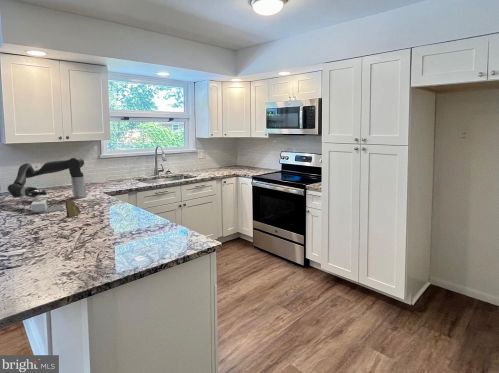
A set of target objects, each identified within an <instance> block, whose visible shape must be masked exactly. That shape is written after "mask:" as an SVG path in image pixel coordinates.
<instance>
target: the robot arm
mask: <svg viewBox="0 0 499 373" xmlns="http://www.w3.org/2000/svg"><path fill="white" fill-rule="evenodd" d="M84 165H85V160H84V159H83V158H81V157H79V156H76V157H71V158H70V159H66V160H65V159H64V160H54V161H48V162H45V163H44V164H43V165H42V166H41V167H40V168H39V169H37V170H35V169H34V168H33V166H32V164H30V163H24V164H21V165H20V166H19V167H18V171H17V175H16V178H15V180H14V181H13V183H11V184H8V185H7V191H8V192H9V194H10V195H11V196H12V197H13V198H20V197H25V198H36V197H38V196H46V195H48V192H47V191H46V189H42V190H41V189H38V188H37V187H34V186H25V185H26V182H27V179H29V178H34V177H38V176H41V175H47V174H54V173H55V174H56V173H58V172H62V171H65V170H66V171H67V170H68V171H69V174H70V176H71V178H70V179H71V188H72V189H71V190H72V197H73V198H74V199H81V198H85V197H86V198H87V190H86V184H85V177H84V173H83V172H82V170H81V168H83V166H84Z"/></svg>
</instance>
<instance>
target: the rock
mask: <svg viewBox="0 0 499 373" xmlns="http://www.w3.org/2000/svg"><path fill="white" fill-rule="evenodd" d="M64 203H65V208H66V209H65V210H66V216H67V217H68V218H71V217H74V216H77V215H79V214H81V210H80V207H79V206H77V204H76V202H75V201H71V200H66V201H65V202H64Z"/></svg>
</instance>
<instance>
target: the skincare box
mask: <svg viewBox="0 0 499 373" xmlns="http://www.w3.org/2000/svg"><path fill="white" fill-rule="evenodd" d="M47 203H48V202H47V199H41V200H39V199H38V200H37V199H36V200H35V199H33V201H32V202H31V204H30V206H31V207H30V208H31V213H37V212H45V211H46V208H48V204H47Z"/></svg>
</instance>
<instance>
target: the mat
mask: <svg viewBox="0 0 499 373" xmlns="http://www.w3.org/2000/svg"><path fill="white" fill-rule="evenodd" d="M65 210H66V209H65V208H63V207H62V206H60V205H57V206H50V207H47V208H46V211H45V212H36V213H37V214H38V215H41V214H47V213H48V214H49V213H54V212H61V211H65Z"/></svg>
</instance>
